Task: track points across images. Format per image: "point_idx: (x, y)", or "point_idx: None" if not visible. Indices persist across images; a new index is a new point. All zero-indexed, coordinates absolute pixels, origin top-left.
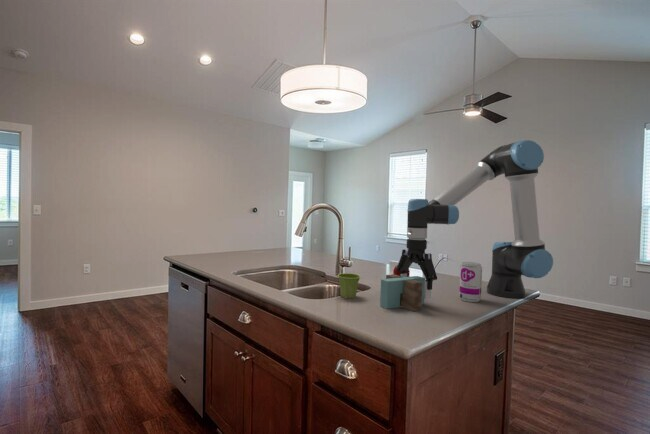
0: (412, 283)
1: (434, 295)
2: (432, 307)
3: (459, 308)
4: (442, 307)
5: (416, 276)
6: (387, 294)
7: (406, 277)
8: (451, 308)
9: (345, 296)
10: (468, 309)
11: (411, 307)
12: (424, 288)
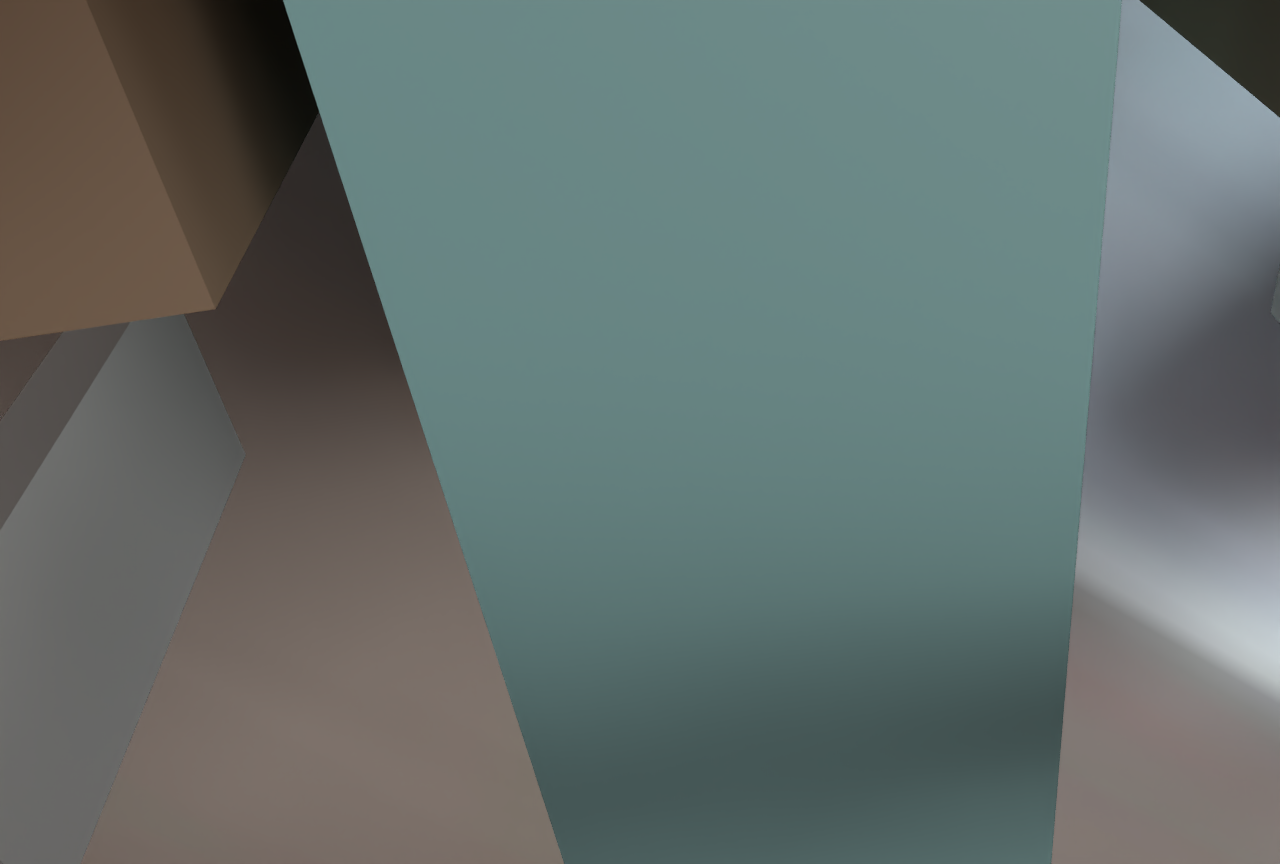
0: None
1: (1068, 819)
2: (277, 366)
3: (183, 753)
4: (263, 546)
5: (975, 836)
6: None
7: (964, 290)
8: (186, 648)
9: None
10: (121, 829)
11: None
12: (34, 462)
